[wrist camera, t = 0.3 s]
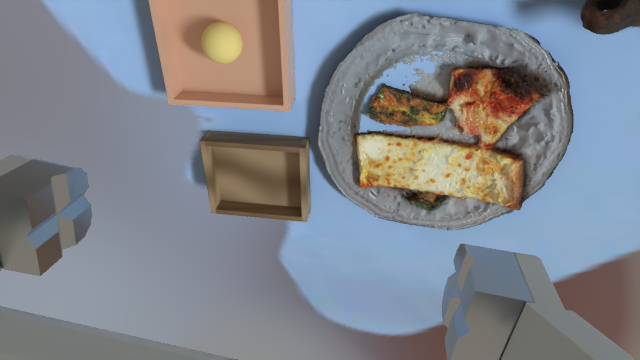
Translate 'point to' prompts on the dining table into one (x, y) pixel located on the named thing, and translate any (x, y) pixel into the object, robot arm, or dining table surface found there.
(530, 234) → the dining table surface
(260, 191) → the tray
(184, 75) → the dish
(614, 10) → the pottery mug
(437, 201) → the food plate
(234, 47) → the ball
